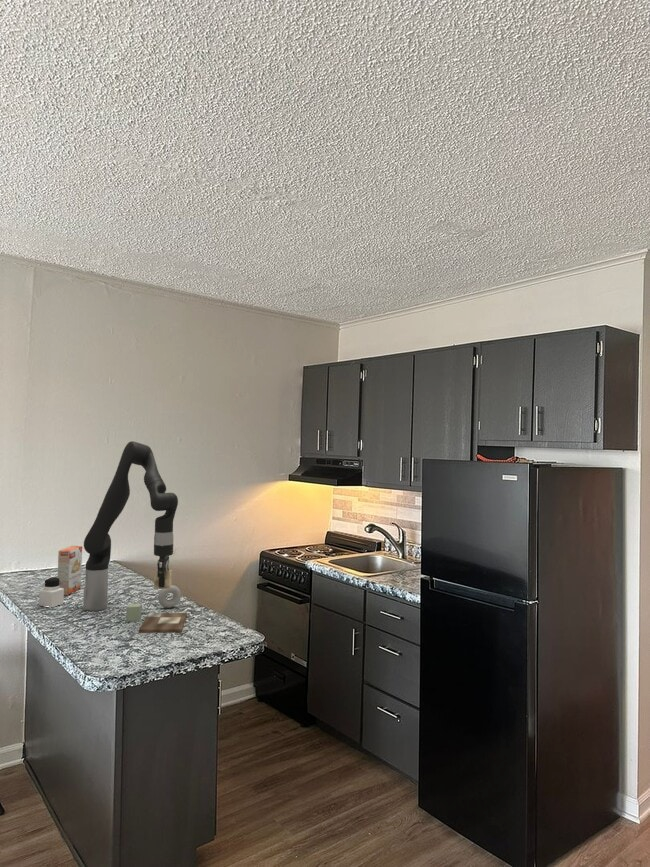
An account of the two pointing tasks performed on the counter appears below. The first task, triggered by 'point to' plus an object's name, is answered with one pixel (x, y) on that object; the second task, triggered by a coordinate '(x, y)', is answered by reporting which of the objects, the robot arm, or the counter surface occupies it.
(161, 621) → the baseplate
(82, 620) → the counter surface
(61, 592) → the medicine bottle
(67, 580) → the cracker box
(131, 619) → the sage block
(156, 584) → the maple block
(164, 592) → the donut
